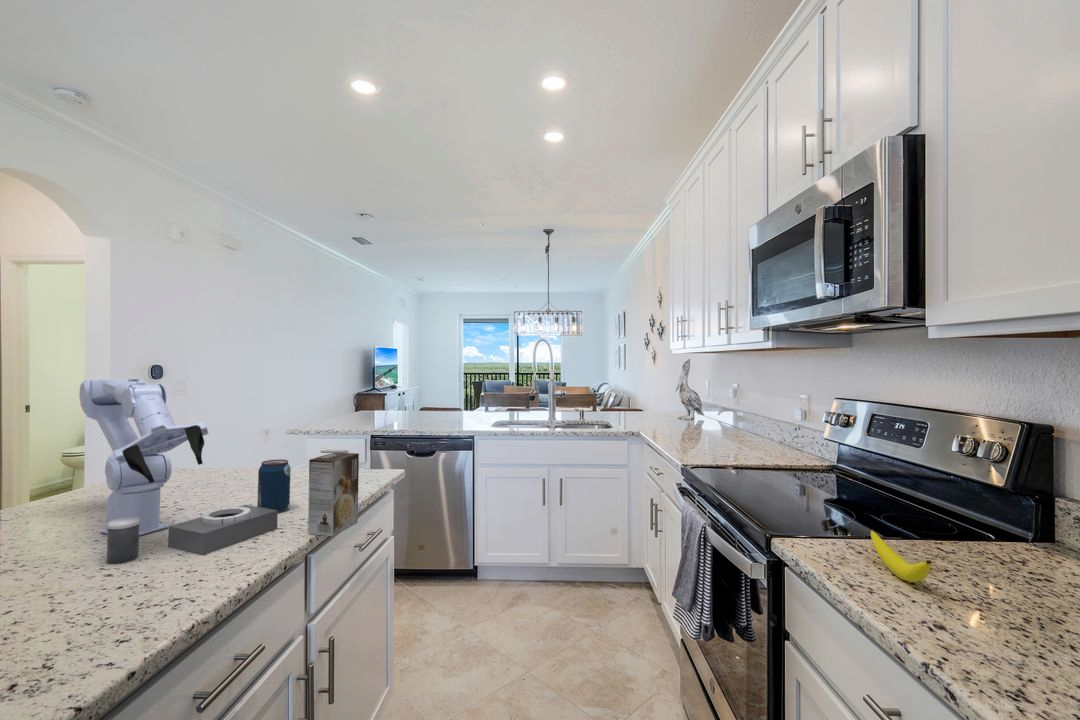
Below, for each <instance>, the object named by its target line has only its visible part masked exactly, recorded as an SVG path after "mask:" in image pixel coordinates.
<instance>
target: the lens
mask: <svg viewBox="0 0 1080 720" xmlns="http://www.w3.org/2000/svg"><path fill="white" fill-rule="evenodd" d="M139 525H140V518H138V517H126V518H120V519H115V520H112V521H110V522H108V532H107V534H106V535H107V539H106V561H105V563H106V564H107V565H119V564H125V563H129V562H132V561H135V560H137V559H138V558H139V553H140V550H139V549H140V535H139Z"/></svg>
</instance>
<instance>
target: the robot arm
mask: <svg viewBox="0 0 1080 720" xmlns="http://www.w3.org/2000/svg"><path fill="white" fill-rule="evenodd" d="M146 383H147V382H145V381H140V379H139V378H136V377H133V378H132V377H130V378H129V377H128V379H124V378H123V379H91V380H89V379H85V380H83V382H81V383H80V387H79V395H78V396H79V403H80V407H81V409H82V411H83V413H84V414H85V415H86V417H87V418H90V419H92V420H94V421H97V423H98V426H99V427H100V429H101V431H102V434H103V435H104V437H105V439H106V441H107V443H108V445H109V446H110V448H111V450H112V452H113V454H111V455H109V456H108V458H107V460H106V462H105V468H104V474H105V480H106V484H107V485H106V486H107V488H108V489H109V490H111V491H112V492H111V493H110V495H109V496H108V498H107V500H106V509H105V511H106V512H105V513H106V516H105V528H102V529H100V533H102V534H106V535H107V532H108V522H110V521H112V520H115V519H120V518H126V517H138V518H140V525H139V536H142V535H145V534H150V533H152V532H153V533H154V532H157V531H160V530H164V529H167V528H168V529H169V526H170V525H169V524H166V523H163V522H160V521H161V520H160V519H161V518H160V516H161V492H162V491H161V488H164V486H165V484H166V483H167V482H169V480H170V478H171V476H172V462H171V458H170V457H169V456H167V454H164V453H167V452H169V451H171V450H174V449H175V448H177V447H178V446H180V445H182V444H184V443H185V442H187V441H188V443H189V445H190V446H189V447H190V449H191V451H192V453H193V454H194V456H195V459H196V463H197V464H198V465H199V466H200V465H203V463H204V462H203V460H202V456H203V455H202V452H203V448H204V446H205V438H204V436H206V435H209V431H208V428H207V426H206V423H205V421H201V422H198V423H192V424H191V423H190V424H182V425H181V424H180V425H179V424H178V425H176V423H175V421H174V418H173V417H172V415H171V412H170V411H169V409H168V406H167V391H166V388H165V387H164V385H163V384H162V383H159V384H146ZM129 418H131V419H132V418H133V421H134V424H135V426H136V427H137V431H138V433H139V435H140V437H139V436H138V435H137V433H136V432H135V430H134V428H133V426H132V425H131V423H130V421H129Z"/></svg>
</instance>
